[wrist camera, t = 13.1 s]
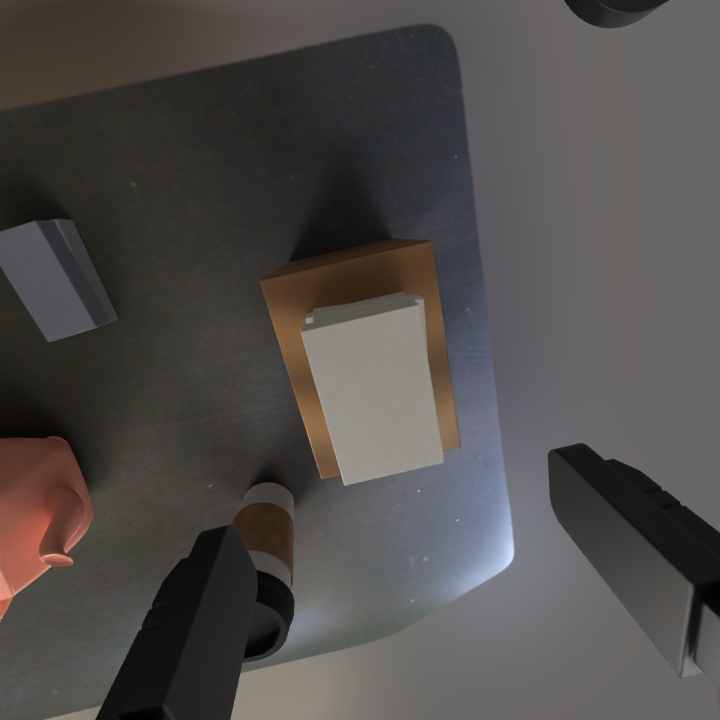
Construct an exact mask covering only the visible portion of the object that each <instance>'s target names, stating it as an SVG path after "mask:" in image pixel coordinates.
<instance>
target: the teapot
mask: <svg viewBox="0 0 720 720" xmlns="http://www.w3.org/2000/svg"><path fill="white" fill-rule="evenodd" d="M93 514H94V509H93V505H92V501H91V498H90V495H89V492H88V489H87V486H86V483H85V480H84V478H83V475H82V473H81V470H80V468H79V465H78V463H77V461H76V458H75V456H74V454H73V452H72V450H71V448H70V446H69V444H68V442H67V441H66V440H64V439H63V438H61V437H58V436H50V437H47V438H1V439H0V620H1V619H2V617H3V615H4V614H5V612H6V610H7V608H8V606H9V604H10V602H11V600H12V598H13V596H14V595H15V594H17V593H18V592H19V591H21V590H22V589H24V588H25V587H26V586H27V585H29V584H30V583H31V582H32V581H34V580H35V579H36V578H38V577H39V576H40V575H41V574H43V573H44V572H45V571H46V570H47V569H49V568H50V567H51V566H56V567H67V566H71V565H72V564H73V563H74V562H73V559H72V558H71V557H70V556H69V555H67V554H66V553H67V552H68V551H69V550H70V549H71V548H72V547H73V546H74V545H75V544H76V543H77V542H78V541H79V540H80V538H81V537H82V536H83V535H84V534H85V533H86V531H87V529H88V528H89V526H90V523H91V521H92V518H93Z"/></svg>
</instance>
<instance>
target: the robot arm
mask: <svg viewBox="0 0 720 720" xmlns="http://www.w3.org/2000/svg"><path fill="white" fill-rule="evenodd" d="M548 469H549V488H550V501H551V505H552V508H553V511H554V513H555V515H556V517H557V519H558V521H559V523H560V524H561V525H562V527H563V528H564V529H565V531H566V532H567V533H568V534H569V536H570V537H571V538H572V540H573V541H574V542H575V544H576V545H577V546H578V547H579V549H580V550H581V551H582V553H583V554H584V555H585V556H586V558H587V559H588V560H589V561H590V563H591V564H592V565H593V567H594V568H595V569H596V571H597V572H598V573H599V574H600V576H601V577H602V578H603V580H604V581H605V582H606V583H607V585H608V586H609V587H610V589H611V590H612V591H613V592H614V593H615V595H616V596H617V598H618V599H619V600H620V601H621V603H622V604H623V605H624V607H625V608H626V609H627V610H628V612H629V613H630V614H631V616H632V617H633V618H634V619H635V621H636V622H637V623H638V625H639V626H640V627H641V628H642V630H643V631H644V632H645V634H646V635H647V636H648V637H649V639H650V640H651V641H652V643H653V644H654V645H655V646H656V648H657V649H658V650H659V652H660V653H661V654H662V656H663V657H664V658H665V659H666V661H667V662H668V663H669V664H670V666H671V667H672V668H673V670H674V671H675V672H676V673H677V675H678V676H679V677H680V679H682V678H686V677H691V676H695V675H699V674H705V675H706V676H707V677H708V679H709V680H710V681H711V682H712V683H713V685H714V686H715V687H716V688H717V689H718V690H719V696H718V697H719V706H720V533H719V532H718V531H717V530H715V529H714V528H713V527H712V526H710V525H709V524H708V523H707V522H705V521H704V520H703V519H701V518H700V517H699V516H697V515H696V514H695V513H694V512H692V511H691V510H690V509H689V508H687V507H686V506H682V505H681V504H680V501H678V500H677V499H676V498H674V497H673V496H672V495H671V494H669V493H668V492H667V491H663V490H662V489H661V487H660V486H659V485H657V484H656V483H655V482H654V481H652V480H651V479H650V478H649V477H647V476H646V475H645V474H643V473H642V472H641V471H639V470H637V469H635V468H633V467H630V466H628V465H626V464H624V463H622V462H619V461H617V460H615V459H611V460H606V461H605V460H604V459H603V458H602V457H600V456H599V455H598V454H597V453H595V452H594V451H593V450H591V448H589V447H588V446H587V445H585V444H583V443H579V444H574V445H570V446H566V447H562V448H558V449H553V450H550V451H549V453H548ZM257 590H258V580H257V572H256V568H255V565H254V563H253V561H252V559H251V557H250V554H249V552H248V550H247V548H246V546H245V544H244V541H243V539H242V537H241V535H240V533H239V530H238V529H237V527H236V526H235V525H233V524H231V525H227V526H223V527H218V528H214V529H210V530H206V531H202V532H201V533H200V534H199V536H198V537H197V540H196V542H195V544H194V546H193V549H192V551H191V553H190V555H189V557H188V558H184V559H181V560H180V562H179V563H178V564H177V565H176V566H175V568H174V569H173V570H172V571H171V572H170V574H169V575H168V576H167V577H166V578H165V580H164V581H163V583H162V585H161V587H160V589H159V591H158V593H157V595H156V597H155V599H154V601H153V603H152V609H150V610H149V611H148V613H147V615H146V617H145V619H144V621H143V624H142V629H141V630H140V631H139V632H138V634H137V636H136V638H135V640H134V642H133V644H132V646H131V648H130V650H129V652H128V654H127V656H126V658H125V660H124V662H123V664H122V666H121V668H120V670H119V672H118V674H117V676H116V679H115V681H114V683H113V685H112V687H111V689H110V691H109V693H108V695H107V697H106V699H105V701H104V703H103V705H102V707H101V709H100V711H99V713H98V715H97V717H96V719H95V720H230V718H231V714H232V709H233V704H234V700H235V695H236V690H237V686H238V681H239V676H240V672H241V667H242V662H243V658H244V653H245V648H246V644H247V639H248V634H249V630H250V625H251V620H252V615H253V611H254V606H255V601H256V597H257Z"/></svg>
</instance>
